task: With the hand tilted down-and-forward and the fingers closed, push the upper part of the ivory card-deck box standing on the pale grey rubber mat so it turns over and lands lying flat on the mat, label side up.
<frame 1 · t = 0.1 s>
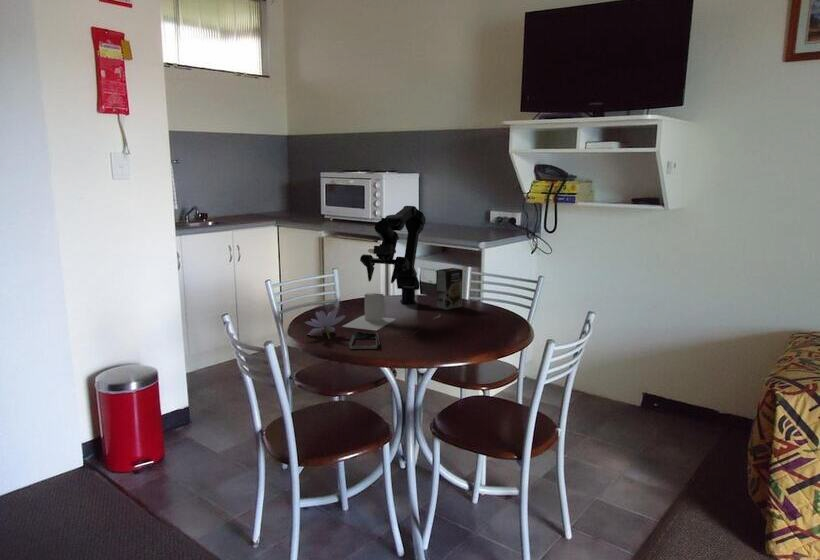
hand: (380, 282, 226), 15 cm above the table, tool tilted 35°, fingers open, 9 cm apart
mat: (369, 323, 223), on the table
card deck: (374, 319, 226), resting on mat
coffee box: (449, 307, 250), on the table
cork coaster: (429, 317, 235), on the table
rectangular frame: (365, 345, 199), on the table
water lily: (325, 336, 207), on the table
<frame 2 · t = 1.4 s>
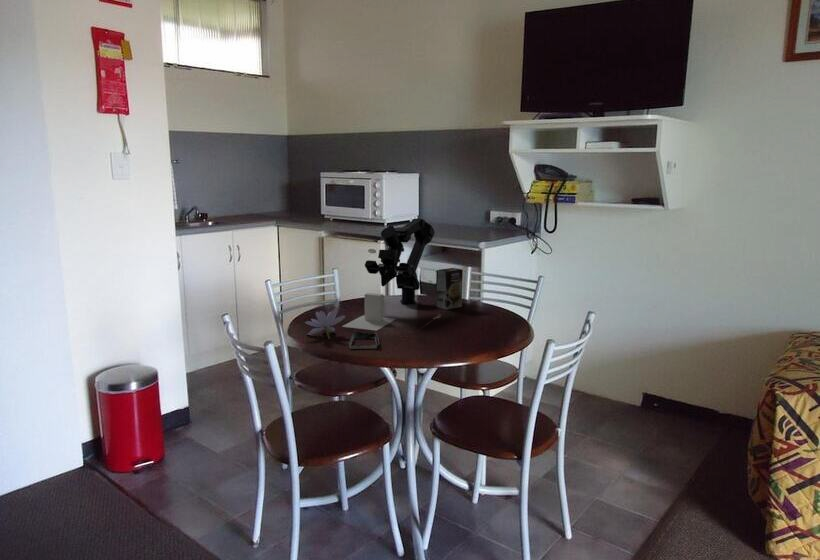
hand: (382, 285, 231), 12 cm above the table, tool tilted 45°, fingers closed
nothing on the table moved.
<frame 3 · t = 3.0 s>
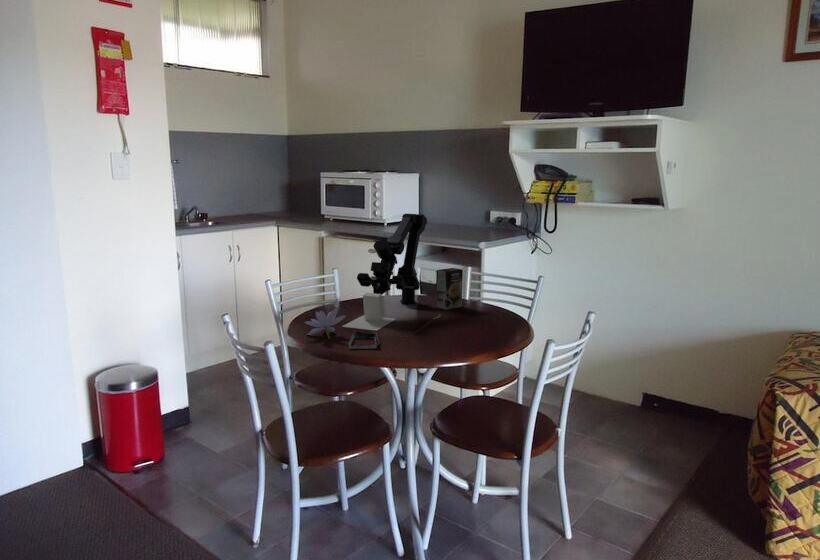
hand: (374, 299, 226), 8 cm above the table, tool tilted 45°, fingers closed
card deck: (374, 319, 226), point 1 cm above the table, tilted 9°, touching mat
everything else where it was.
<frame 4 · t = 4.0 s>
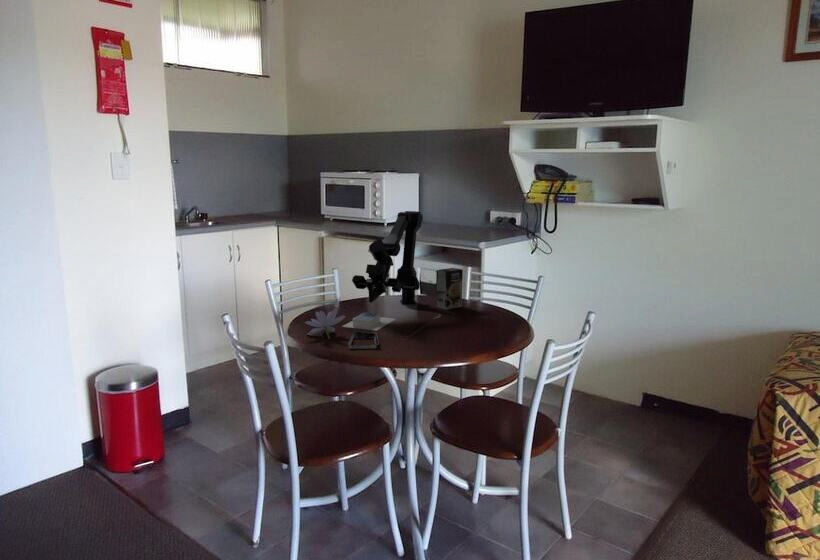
hand: (370, 302, 222), 8 cm above the table, tool tilted 45°, fingers closed
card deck: (372, 317, 225), point 2 cm above the table, tilted 90°, touching mat
everything else where it was.
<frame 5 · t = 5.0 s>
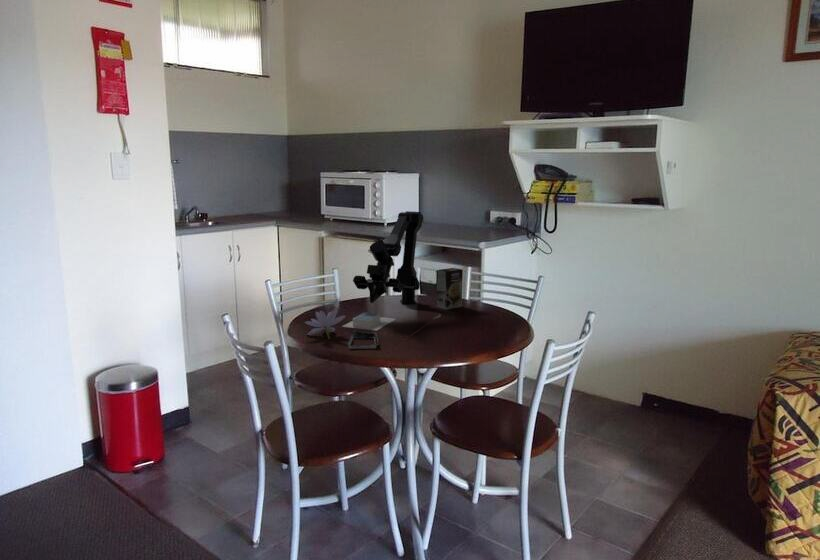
hand: (371, 302, 223), 8 cm above the table, tool tilted 45°, fingers closed
nothing on the table moved.
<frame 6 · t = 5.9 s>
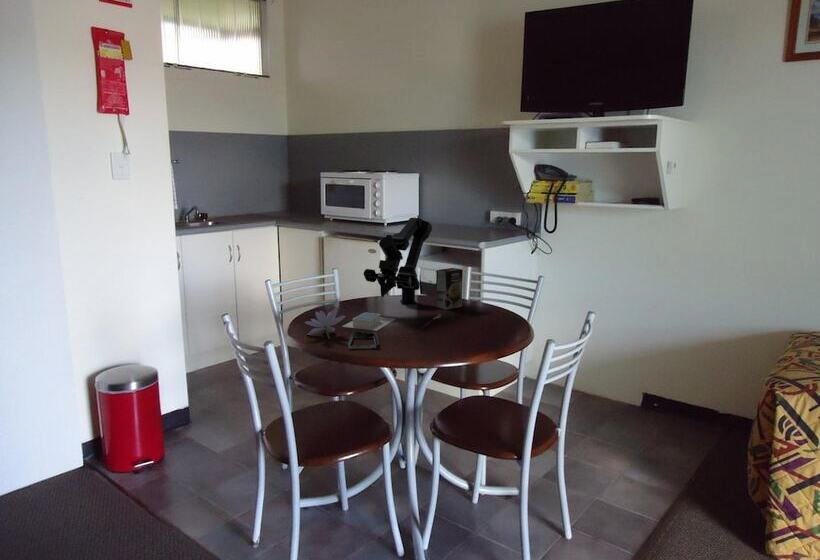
hand: (381, 296, 231), 8 cm above the table, tool tilted 40°, fingers closed
nothing on the table moved.
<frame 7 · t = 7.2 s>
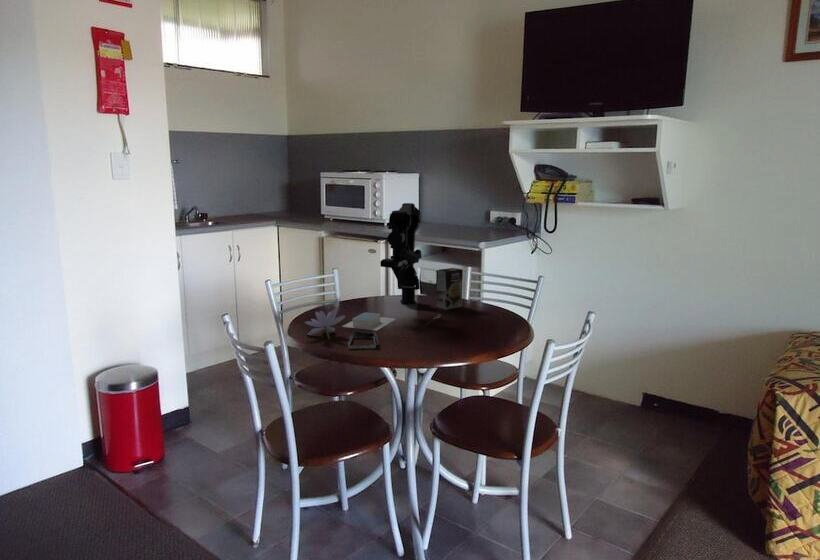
hand: (399, 282, 236), 13 cm above the table, tool pointing down, fingers closed
nothing on the table moved.
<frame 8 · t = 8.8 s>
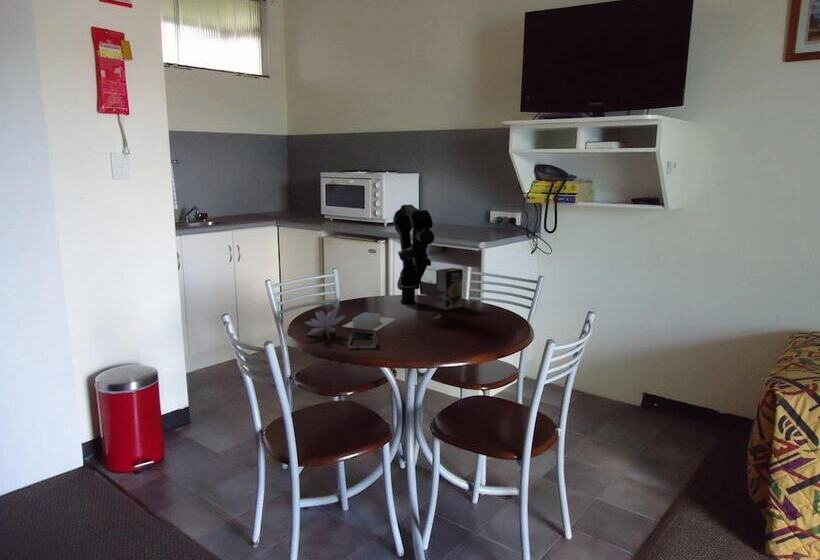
hand: (419, 280, 239), 13 cm above the table, tool pointing down, fingers closed
nothing on the table moved.
at the end: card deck tilted 90°; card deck inside the target area (4.0 cm from its centre), point 2.0 cm above the table; the gripper is holding nothing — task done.
